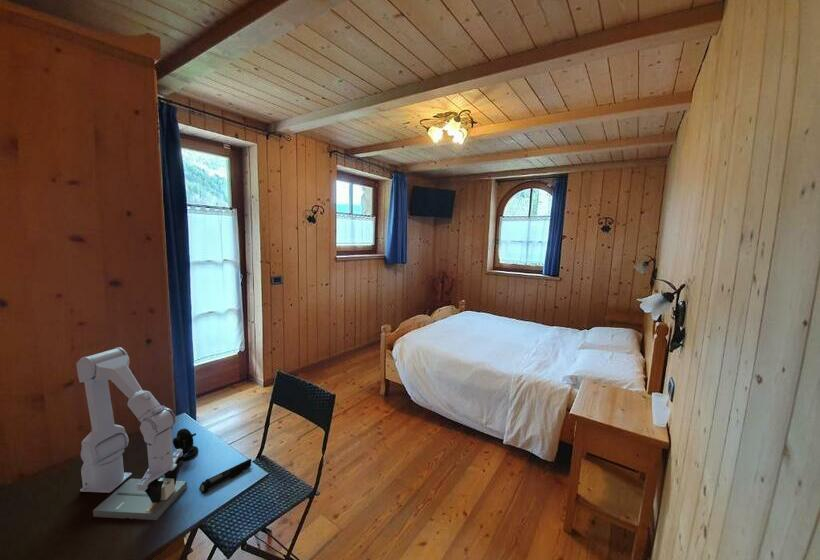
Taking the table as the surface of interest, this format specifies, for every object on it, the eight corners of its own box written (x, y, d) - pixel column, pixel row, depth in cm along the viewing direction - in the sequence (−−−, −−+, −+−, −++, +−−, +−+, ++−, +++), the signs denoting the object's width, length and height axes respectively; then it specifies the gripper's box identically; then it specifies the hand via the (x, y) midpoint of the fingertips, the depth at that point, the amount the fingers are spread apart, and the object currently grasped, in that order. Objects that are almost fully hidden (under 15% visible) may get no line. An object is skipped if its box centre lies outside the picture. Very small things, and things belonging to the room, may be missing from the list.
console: (93, 516, 91) (92, 510, 91) (131, 484, 103) (130, 478, 103) (156, 520, 91) (156, 513, 90) (186, 486, 102) (186, 480, 102)
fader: (152, 499, 95) (151, 486, 94) (161, 489, 98) (160, 477, 97) (166, 500, 94) (165, 487, 94) (175, 490, 98) (174, 478, 97)
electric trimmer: (253, 469, 112) (253, 461, 111) (203, 495, 100) (202, 486, 99) (248, 464, 114) (248, 456, 114) (198, 489, 102) (198, 480, 102)
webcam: (168, 457, 115) (166, 431, 114) (190, 445, 122) (189, 421, 120) (180, 465, 112) (179, 438, 110) (203, 452, 118) (201, 427, 117)
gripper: (153, 470, 87) (157, 515, 89) (191, 437, 101) (193, 476, 103) (128, 469, 87) (132, 513, 89) (169, 435, 102) (172, 475, 103)
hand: (163, 493), depth 96 cm, fingers open, 5 cm apart
